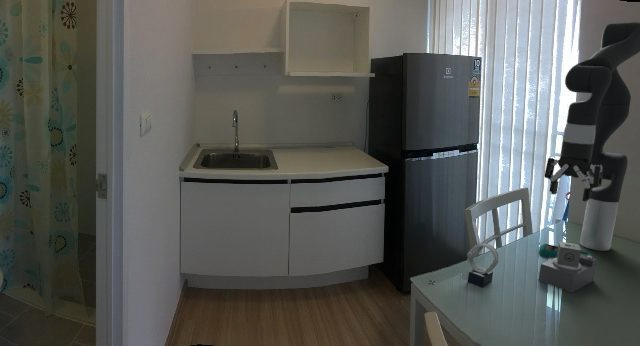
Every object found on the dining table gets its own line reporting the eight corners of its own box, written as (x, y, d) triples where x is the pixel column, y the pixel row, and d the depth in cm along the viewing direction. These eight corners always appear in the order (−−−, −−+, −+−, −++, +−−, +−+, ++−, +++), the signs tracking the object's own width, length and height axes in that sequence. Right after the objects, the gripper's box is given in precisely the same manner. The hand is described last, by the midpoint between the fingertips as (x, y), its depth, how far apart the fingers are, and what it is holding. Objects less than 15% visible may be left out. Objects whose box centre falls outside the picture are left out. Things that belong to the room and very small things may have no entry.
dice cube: (556, 257, 129) (559, 241, 128) (576, 261, 127) (579, 244, 126) (557, 263, 125) (560, 246, 124) (578, 267, 123) (581, 250, 122)
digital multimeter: (540, 250, 154) (541, 241, 154) (590, 260, 146) (592, 252, 146) (537, 256, 148) (539, 247, 147) (590, 268, 140) (591, 259, 140)
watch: (470, 274, 129) (475, 238, 127) (497, 284, 124) (503, 246, 122) (460, 279, 125) (465, 242, 123) (488, 290, 120) (494, 251, 118)
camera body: (561, 269, 136) (565, 247, 135) (593, 280, 130) (597, 257, 128) (538, 280, 128) (542, 256, 126) (571, 292, 121) (575, 267, 120)
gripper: (612, 143, 122) (601, 201, 125) (557, 136, 132) (549, 190, 136) (601, 145, 117) (590, 205, 120) (545, 137, 128) (537, 193, 131)
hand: (569, 197), depth 128 cm, fingers open, 8 cm apart
